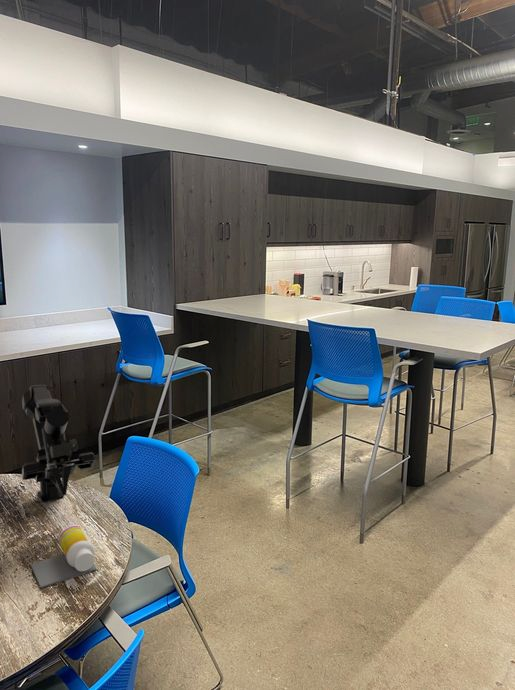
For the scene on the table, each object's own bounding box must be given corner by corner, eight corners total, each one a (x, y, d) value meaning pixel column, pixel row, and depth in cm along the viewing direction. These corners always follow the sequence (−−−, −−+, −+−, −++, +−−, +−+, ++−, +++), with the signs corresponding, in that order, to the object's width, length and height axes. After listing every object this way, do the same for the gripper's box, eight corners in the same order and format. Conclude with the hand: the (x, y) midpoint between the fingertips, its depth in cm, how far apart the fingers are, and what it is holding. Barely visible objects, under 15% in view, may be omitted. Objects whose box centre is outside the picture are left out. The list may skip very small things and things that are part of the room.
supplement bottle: (52, 537, 133) (64, 565, 123) (74, 518, 135) (87, 543, 125) (69, 552, 136) (82, 580, 126) (89, 533, 139) (104, 559, 128)
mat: (30, 565, 129) (30, 563, 129) (83, 549, 137) (83, 547, 137) (40, 588, 121) (40, 586, 121) (96, 570, 129) (96, 568, 129)
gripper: (21, 435, 139) (29, 492, 132) (93, 425, 148) (104, 477, 142) (18, 452, 147) (26, 506, 140) (86, 441, 157) (97, 491, 150)
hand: (64, 495), depth 143 cm, fingers closed
